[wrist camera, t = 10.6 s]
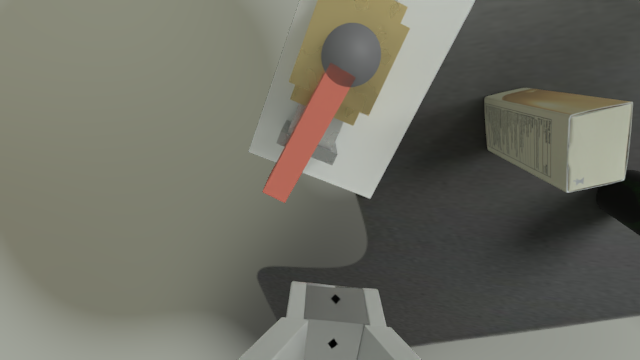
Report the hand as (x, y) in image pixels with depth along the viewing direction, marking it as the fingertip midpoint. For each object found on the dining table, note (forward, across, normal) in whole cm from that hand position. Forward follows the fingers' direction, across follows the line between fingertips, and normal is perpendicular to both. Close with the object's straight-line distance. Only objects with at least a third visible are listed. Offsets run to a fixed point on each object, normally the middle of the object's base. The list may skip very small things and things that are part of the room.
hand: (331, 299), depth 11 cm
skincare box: (+25, -19, -4) cm, 32 cm away
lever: (+17, +1, -3) cm, 17 cm away
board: (+25, -2, -6) cm, 26 cm away
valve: (+25, 0, -8) cm, 26 cm away
